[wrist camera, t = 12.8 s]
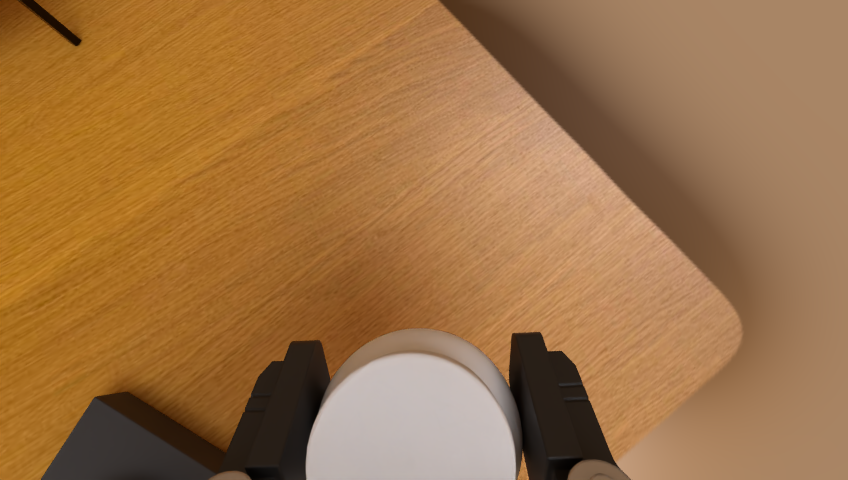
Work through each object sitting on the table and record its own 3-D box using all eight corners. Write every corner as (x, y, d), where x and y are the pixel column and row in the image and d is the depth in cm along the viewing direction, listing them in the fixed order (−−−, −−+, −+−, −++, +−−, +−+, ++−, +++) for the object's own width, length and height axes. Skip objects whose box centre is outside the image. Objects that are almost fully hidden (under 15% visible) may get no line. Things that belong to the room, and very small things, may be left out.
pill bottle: (512, 456, 16) (599, 587, 7) (377, 496, 16) (302, 681, 7) (470, 318, 17) (501, 290, 9) (345, 354, 17) (248, 363, 8)
